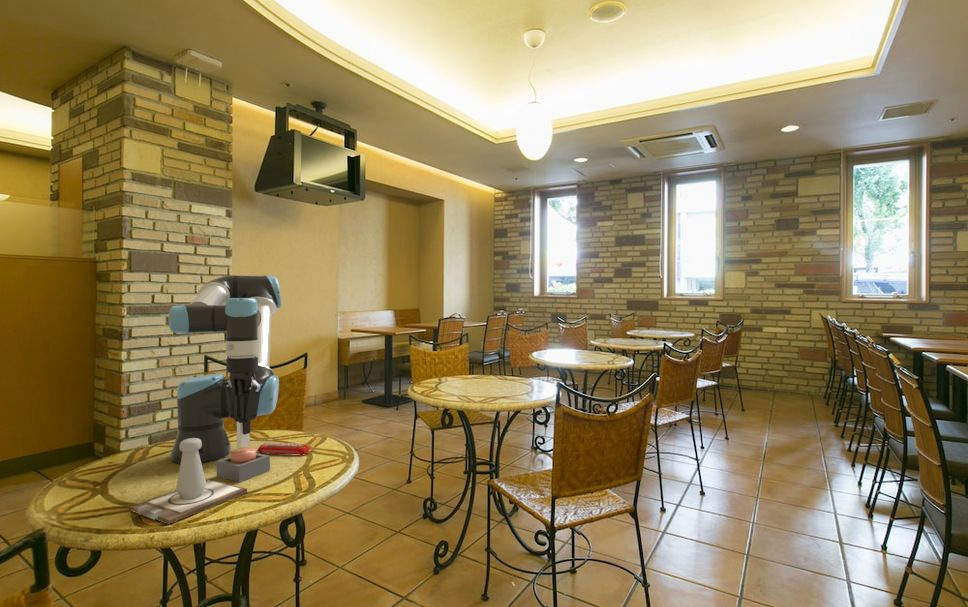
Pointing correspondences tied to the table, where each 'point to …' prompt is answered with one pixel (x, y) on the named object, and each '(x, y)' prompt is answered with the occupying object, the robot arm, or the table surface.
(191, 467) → the salt shaker
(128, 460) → the table surface
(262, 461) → the button housing
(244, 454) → the button
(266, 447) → the candy bar
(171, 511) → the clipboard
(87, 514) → the table surface
